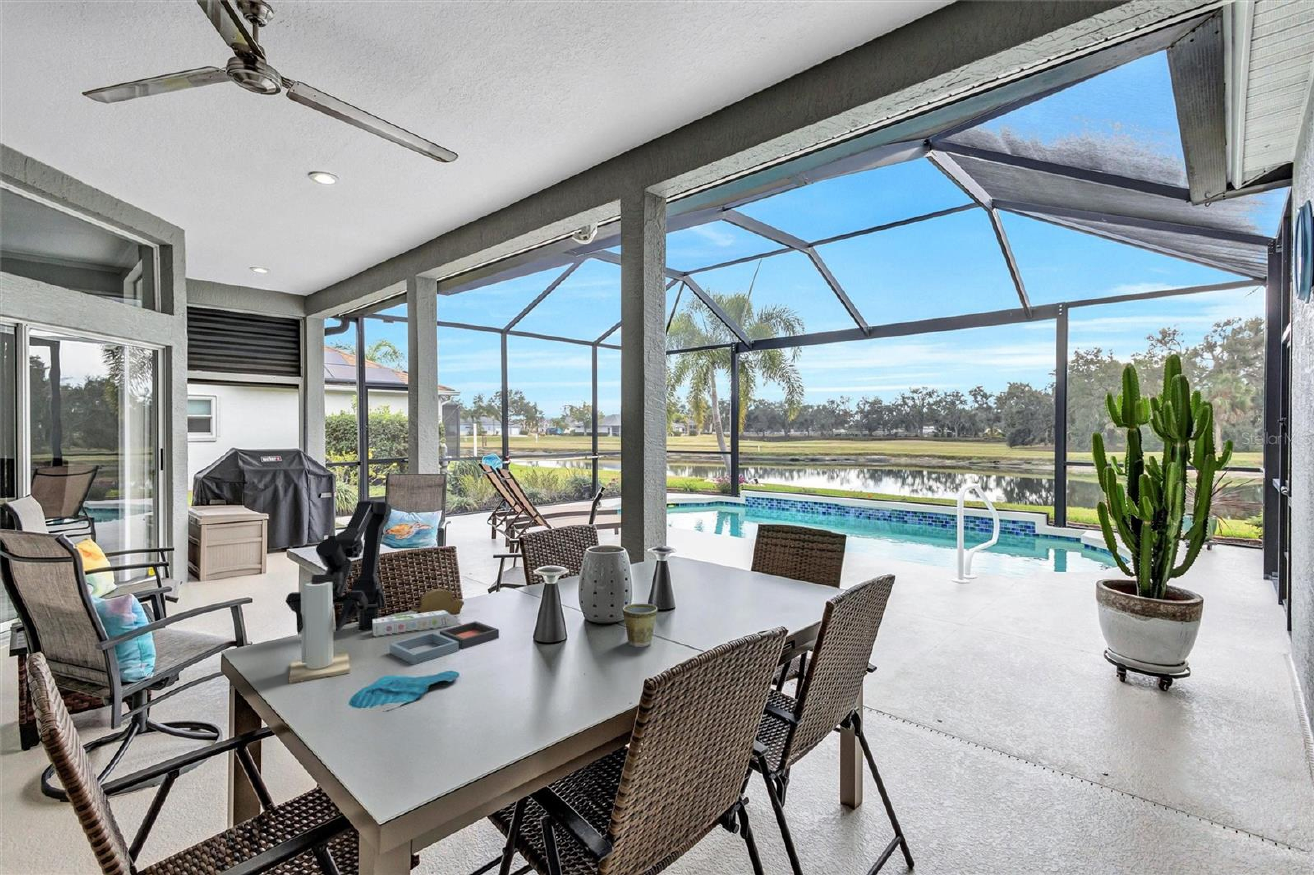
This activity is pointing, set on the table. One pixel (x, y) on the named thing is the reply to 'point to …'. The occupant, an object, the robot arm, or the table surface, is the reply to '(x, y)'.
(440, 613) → the box
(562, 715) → the table surface
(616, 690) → the table surface
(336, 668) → the wooden pad
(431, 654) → the blue square frame
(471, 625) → the tray
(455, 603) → the wooden carving
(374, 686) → the blue flat elongated piece
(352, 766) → the table surface
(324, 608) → the paper towel roll
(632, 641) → the ceramic cup
